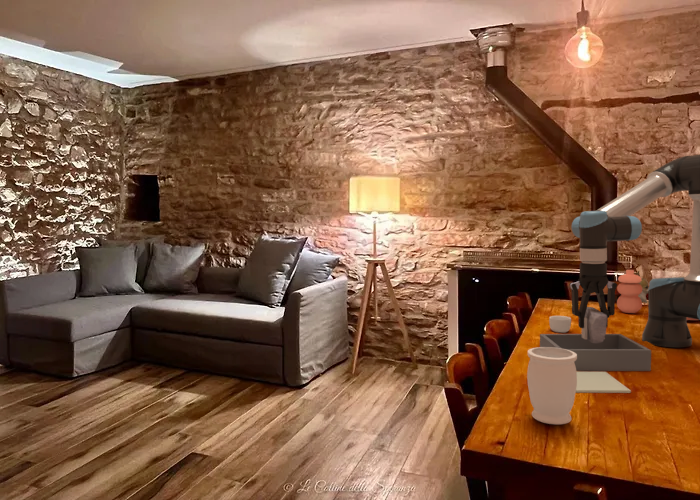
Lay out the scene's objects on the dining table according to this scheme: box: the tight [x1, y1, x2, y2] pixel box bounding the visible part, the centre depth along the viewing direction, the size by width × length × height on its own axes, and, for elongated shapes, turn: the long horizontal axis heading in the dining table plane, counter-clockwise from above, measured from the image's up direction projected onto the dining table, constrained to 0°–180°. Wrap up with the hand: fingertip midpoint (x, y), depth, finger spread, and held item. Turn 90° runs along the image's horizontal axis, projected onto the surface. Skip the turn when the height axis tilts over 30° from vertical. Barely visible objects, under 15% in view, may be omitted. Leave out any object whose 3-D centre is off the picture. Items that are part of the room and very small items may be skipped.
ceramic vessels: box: [616, 269, 699, 321], centre depth 235 cm, size 35×21×19 cm, turn 64°
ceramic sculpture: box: [634, 270, 649, 304], centre depth 264 cm, size 11×9×15 cm
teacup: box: [548, 315, 572, 334], centre depth 206 cm, size 10×8×5 cm
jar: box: [526, 346, 577, 425], centre depth 121 cm, size 11×10×15 cm
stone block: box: [585, 306, 607, 343], centre depth 165 cm, size 12×5×10 cm, turn 172°
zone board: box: [575, 371, 632, 394], centre depth 146 cm, size 16×16×1 cm
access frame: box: [539, 333, 652, 372], centre depth 166 cm, size 25×20×6 cm
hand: (592, 338), depth 166 cm, fingers closed on stone block, 4 cm apart
